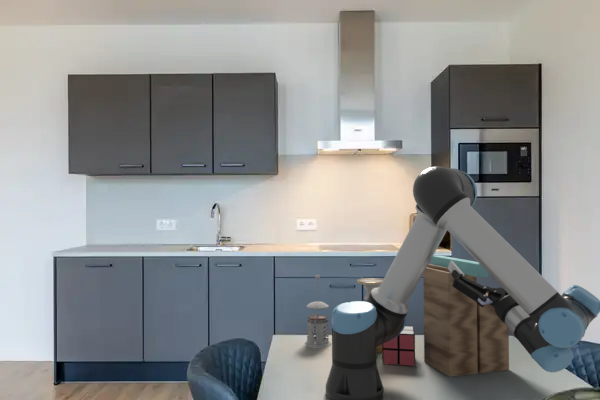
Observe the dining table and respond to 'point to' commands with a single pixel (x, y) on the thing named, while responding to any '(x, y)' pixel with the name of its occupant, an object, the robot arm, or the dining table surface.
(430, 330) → the brown boxy piece
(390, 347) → the puzzle cube
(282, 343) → the dining table surface
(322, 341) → the french press
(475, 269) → the bar
